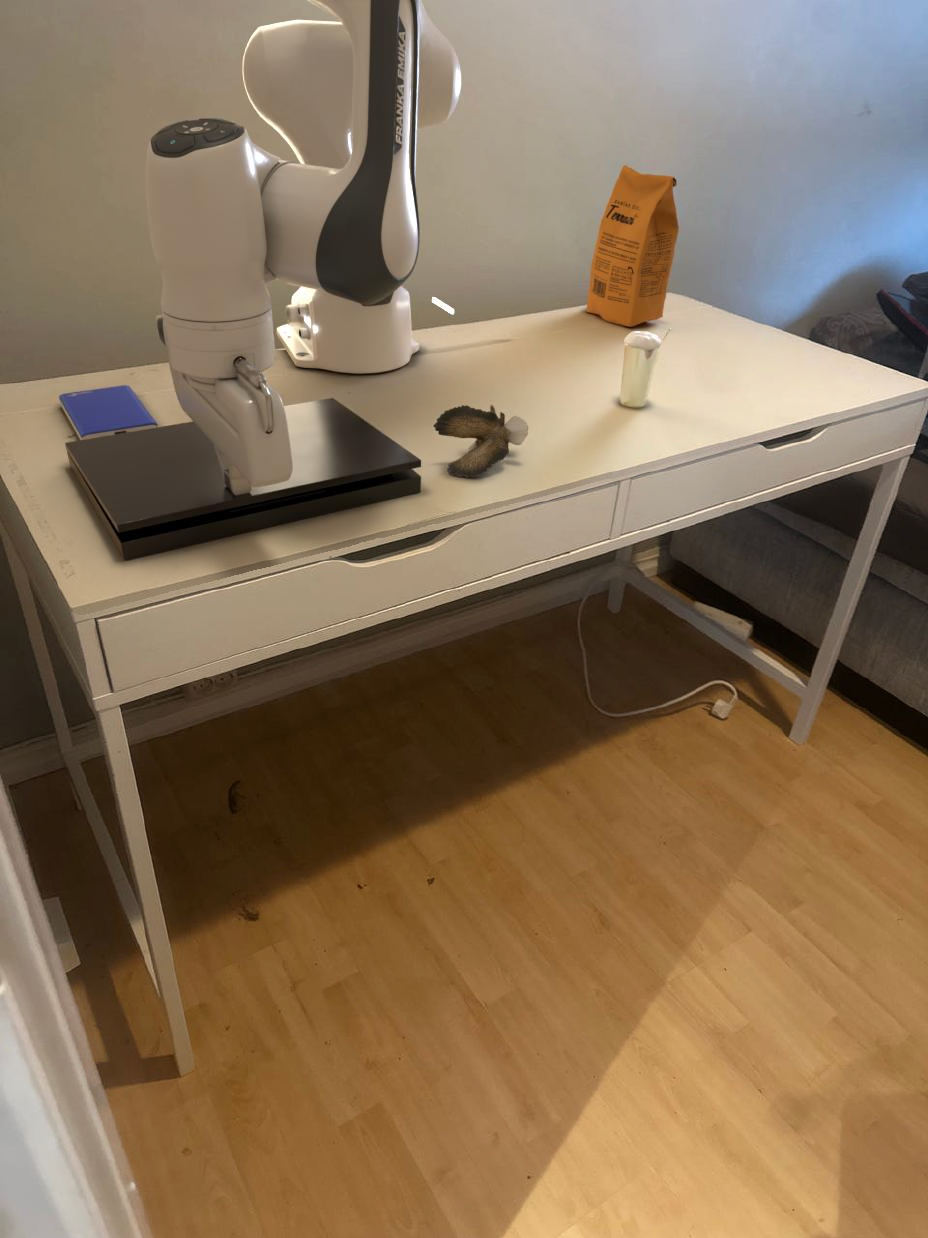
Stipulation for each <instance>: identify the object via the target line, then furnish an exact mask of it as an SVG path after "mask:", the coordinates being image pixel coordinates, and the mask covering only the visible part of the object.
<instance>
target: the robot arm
mask: <svg viewBox="0 0 928 1238" xmlns="http://www.w3.org/2000/svg"><path fill="white" fill-rule="evenodd" d="M306 1H307V2H309V3H310V4H312V5H313V6H316V8H318V9H319V10H321V11H323V12H324V13H326V14H327V15H330V16H331V17H333V18H334V19H336V20H337V21H324V20H309V19H308V20H305V19H295V20H288V21H281V22H277V23H271V24H268V25H262V26H259V27H257V29H256V30H255V31H254V32H253V34H252V35H251V36H250V38H249V40H248V42H247V44H246V46H245V50H244V54H243V58H242V79H243V85H244V89H245V92H246V95H247V97H248V99H249V102H250V103H251V105H252V107H253V108H254V110H255V111H256V113H257V114H258V115H259V117H260V118H262V119H263V120H264V121H265V122H266V123H267V124H268V125H269V126H271V127H272V128H273V129H274V130H276V132H278V134H279V135H280V136H281V137H282V138H283V139H284V140H285V141H286V142H287V144H288V145H289V147H290V148H291V149H292V151H293V153H294V154H295V156H296V158H297V159H298V161H299V162H298V161H294V160H287V159H282V158H281V157H279V156H278V155H274V154H272V153H270V152H268V151H266V150H264V149H263V148H262V147H260V146H258V145H257V144H256V143H254V142H253V141H252V140H251V138H250V136H249V135H250V134H249V133H248V130H247V129H246V128H245V127H244V126H243V125H241V124H240V123H238V122H236V121H232V120H230V119H224V118H216V117H215V118H214V117H211V118H210V117H206V118H205V117H204V118H199V119H189V120H187V119H186V120H181V121H177V122H174V123H171V124H169V125H166V126H164V127H162V128H161V129H159V130H158V131H157V132H156V133H154V134H153V135H152V137H150V140H149V141H148V145H147V149H146V155H145V166H144V186H145V187H144V189H145V203H146V204H145V205H146V213H147V221H148V229H149V236H150V243H151V249H152V253H153V256H154V259H155V261H156V264H157V265H158V268H159V272H160V275H161V282H162V288H161V289H162V290H161V296H160V309H161V314H158V315H156V317H155V327H156V332H157V333H156V334H157V337H158V339H159V341H161V342H162V344H163V345H164V347H165V351H166V356H167V361H168V366H169V369H170V370H169V371H170V375H171V379H172V384H173V387H174V392H175V395H176V398H177V400H178V403H179V405H180V408H181V409H182V411H183V412H184V414H186V415H187V416H188V417H189V418H190V419H191V420H192V422H193V421H194V423H195V424H196V425H197V426H198V427H199V428H200V429H201V430H202V431H203V432H204V434H205V435H206V436H207V437H208V438H209V439H210V440H211V441H212V442H213V444H214V448H215V451H216V454H217V457H218V460H219V463H220V466H221V468H222V474H223V482H224V483H225V485H226V486H227V487H228V488H229V489H230V490H231V491H232V493H233V494H234V495H241V494H246V493H250V491H251V489H252V487H251V485H252V486H254V487H261V486H267V485H272V484H276V483H280V482H284V481H287V480H289V478H290V476H291V474H292V470H293V463H292V454H291V446H290V438H289V432H288V425H287V419H286V413H285V409H284V406H285V405H284V403H283V400H282V397H281V395H280V394H279V392H278V391H277V390H276V389H275V388H274V387H273V386H272V385H271V384H269V382H267V378H266V377H265V375H264V374H263V372H264V371H266V370H268V369H270V368H271V367H272V366H273V365H274V364H275V362H276V359H277V356H276V343H275V333H274V322H273V321H274V320H273V309H272V300H271V295H270V292H269V290H268V288H267V284H268V283H269V282H271V281H277V282H281V283H283V284H286V285H291V286H296V287H299V288H298V290H297V291H295V293H294V294H293V295H292V297H291V304H288V305H286V306H285V317H286V320H287V323H286V324H282V325H281V326H278V327H277V328H276V336H277V338H278V340H279V342H280V343H281V344H282V346H283V347H284V350H285V351H286V352H287V354H288V356H289V357H290V359H291V360H292V362H293V363H294V366H296V367H298V368H306V369H321V370H326V371H331V372H335V373H343V374H344V373H345V374H377V373H384V372H390V371H393V370H396V369H399V368H402V367H404V366H405V365H407V364H408V363H409V362H410V361H411V357H412V355H413V354H415V353H417V352H418V351H419V350H420V343H419V341H418V340H415V339H413V331H412V330H413V329H412V314H411V311H412V310H411V298H410V297H411V296H410V293H409V291H408V290H407V289H406V288H405V287H403V285H404V283H405V282H406V281H407V280H408V279H409V277H411V276H412V273H413V272H414V269H415V267H416V264H417V261H418V257H419V252H420V244H421V243H420V242H421V241H420V240H421V239H420V238H421V237H420V236H421V233H420V229H421V228H420V214H419V205H418V196H417V182H416V178H417V177H416V173H417V171H416V169H417V138H418V137H417V135H418V131H420V130H425V129H429V128H430V129H431V128H434V127H437V126H438V127H439V126H442V125H444V124H445V123H446V122H447V121H448V120H449V119H450V117H451V116H452V114H453V113H454V111H455V110H456V107H457V105H458V102H459V100H460V96H461V90H462V71H461V70H462V69H461V65H460V61H459V58H458V54H457V53H456V50H455V48H454V46H453V45H452V43H451V42H450V40H449V39H448V38H447V36H446V35H445V34H443V33H442V32H441V31H440V30H439V29H438V28H437V26H436V25H435V23H434V22H433V21H432V19H431V17H430V16H429V14H428V12H427V10H426V8H425V6H424V5H425V4H424V3H423V0H306ZM431 303H433V304H435V305H437V306H438V307H440V308H442V309H443V310H444V311H446V312H448V313H449V314H451V315H454V314H455V309H454V308H452V307H451V306H449V304H446V303H444V302H443V301H442V300H440V299H438V298H437V297H435V296H434V297H433V296H432V299H431Z"/></svg>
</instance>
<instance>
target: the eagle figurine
mask: <svg viewBox="0 0 928 1238" xmlns="http://www.w3.org/2000/svg"><path fill="white" fill-rule="evenodd" d="M505 420H506V415H505V412H502V411H500V412H499V416H498V414H497V413H496V408H495V406H494V405H493V404H491V405H490V406H489V411H486V410H482V409H481V408H475V407H471V406H470V405H467V404H466V405H462V404H461V406H460V405H458V406H457V407H456V406H454V407H453V408H449V409H447V410H444V411H443V413H441V414H440V415H439V417H438V418H436V422H435V423H434V424H433V428H434V431H436V432H438V433H437V434H438V435H439V436H444V437H452V438H453V437H454V438H457V439H476V440H475V441H473V443H472V444H471V445H470V446H469V447H468V448H467V452H466V453H465V454H464V455H462V456H460V457H459V458H458V459H457V458H456V459H455V460H454V461H452V462H450V463H448V464H447V471H448V475H451V476H453V477H456V476H457V477H459V478H461V477H465V478H469V477H471V478H474V477H477V476H480V475H483V474H484V473H486V472H487V471H488V469H490V468H492V467H493V465H495V464H497V463H498V462H501V461H504V459H505V458H506V457H507V455H509V453H510V449H509V445H510V444H512V445H515V446H520V445H522V444H523V443H524V442H525V440H526V438H527V436H528V435H529V428H530V427H529V425H528V423H527V421H526V420H524V419H523V418H522V417H520V416H517V415H513V416H511V417H510V418H509V420H508V421H507V422H506V421H505ZM509 443H510V444H509Z"/></svg>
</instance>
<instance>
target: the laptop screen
mask: <svg viewBox="0 0 928 1238" xmlns="http://www.w3.org/2000/svg"><path fill="white" fill-rule="evenodd" d="M284 409H285V413H286V419H287V425H288V432H289V438H290V446H291V454H292V463H293V470H292V474H291V476H290V478H289V480H287V481H284V482H280V483H276V484H272V485H267V486H261V487H254V486H252V485H251V487H252V489H251V491H250V493H246V494H241V495H234V494H233V493H232V491H231V490H230V489H229V488H228V487H227V486H226V485H225V483H224V482H223V474H222V468H221V466H220V463H219V460H218V457H217V454H216V451H215V448H214V444H213V442H212V441H211V440H210V439H209V438H208V437H207V436H206V435H205V434H204V432H203V431H202V430H201V429H200V428H199V427H198V426H197V425H196V424H195V423H194V421H193V420H192V421H188V422H182V423H181V422H180V423H174V424H169V425H163V426H158V427H157V428H151V429H145V430H139V431H133V432H127V433H121V434H115V435H109V436H103V437H97V438H91V439H85V440H80V439H79V440H74V441H67V442H65V443H64V445H65V448H66V452H67V451H68V453H69V454H70V456H71V458H72V459H73V461H74V462H75V464H76V466H77V467H78V469H79V470H80V472H81V473H82V475H83V477H84V478H85V480H86V481H87V483H88V485H89V486H90V488H91V489H92V491H93V493H94V494H95V496H96V497H97V499H98V500H99V502H100V504H101V505H102V507H103V508H104V510H105V512H106V513H107V515H108V516H109V518H110V519H111V521H112V523H113V524H114V526H115V527H116V529H117V531H118V532H119V533H120V532H124V531H129V530H134V529H138V528H143V527H147V526H152V525H157V524H161V523H166V522H171V521H175V520H180V519H184V518H189V517H194V516H198V515H203V514H207V513H212V512H217V511H221V510H226V509H230V508H235V507H240V506H244V505H249V504H253V503H258V502H263V501H267V500H272V499H276V498H281V497H286V496H290V495H295V494H299V493H304V492H309V491H313V490H318V489H322V488H327V487H332V486H336V485H341V484H345V483H350V482H355V481H359V480H364V479H368V478H373V477H378V476H382V475H387V474H391V473H396V472H401V471H405V470H410V469H412V470H414V469H419V468H422V459H421V458H420V457H418V456H416V455H415V454H413V453H412V452H410V451H409V450H407V449H406V448H405V447H403V446H402V445H401V444H399V443H398V442H396V441H395V440H394V439H393V438H391V437H389V436H387V435H386V434H385V433H384V432H382V431H381V430H379V429H378V428H377V427H375V426H374V425H372V424H371V423H370V422H368V421H367V420H365V419H363V418H362V417H361V416H360V415H359V414H357V413H355V412H354V411H352V410H351V409H350V408H348V407H347V406H345V405H344V404H342V403H341V402H340V401H338V400H337V399H335V398H334V397H331V398H324V399H319V400H312V401H307V402H301V403H294V404H289V405H284Z"/></svg>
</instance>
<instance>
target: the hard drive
mask: <svg viewBox="0 0 928 1238" xmlns="http://www.w3.org/2000/svg"><path fill="white" fill-rule="evenodd" d="M58 400H59V404H60V406H61V408H62V410H63V412H64V414H65V416H66V417H67V419H68V421H69V423H70V425H71V426H72V428H73V430H74V432H76V435H77V436H78V438H79V440H85V439H91V438H97V437H103V436H109V435H115V434H121V433H127V432H133V431H139V430H145V429H151V428H157V427H159V425H158V422H157V421H156V420H155V418H154V416H152V414H151V413H150V412H149V411H148V409H147V408H146V406H145V405H144V404H143V402H142V401H141V400H140V398H139V397H138V396H137V394H136V393H135V391H134V390H133V389H132V388H131V386H130V385H128V384H127V385H125V384H123V385H117V386H109V387H101V388H95V389H87V390H79V391H73V392H66V393H61V394H59V395H58Z"/></svg>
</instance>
